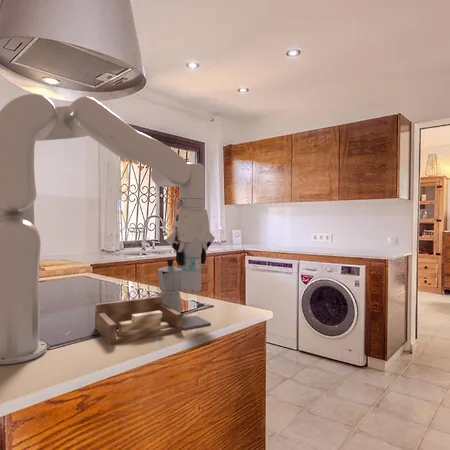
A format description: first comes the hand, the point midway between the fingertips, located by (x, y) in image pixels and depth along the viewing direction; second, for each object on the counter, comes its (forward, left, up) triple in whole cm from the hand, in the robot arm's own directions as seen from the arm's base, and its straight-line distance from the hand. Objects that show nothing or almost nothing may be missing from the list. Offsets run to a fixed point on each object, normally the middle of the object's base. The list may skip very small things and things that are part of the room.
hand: (191, 263), depth 107 cm
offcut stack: (-16, -2, -18) cm, 24 cm away
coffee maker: (0, +15, -18) cm, 24 cm away
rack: (-16, +2, -18) cm, 24 cm away
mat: (0, 0, -18) cm, 18 cm away
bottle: (0, 0, -9) cm, 9 cm away
